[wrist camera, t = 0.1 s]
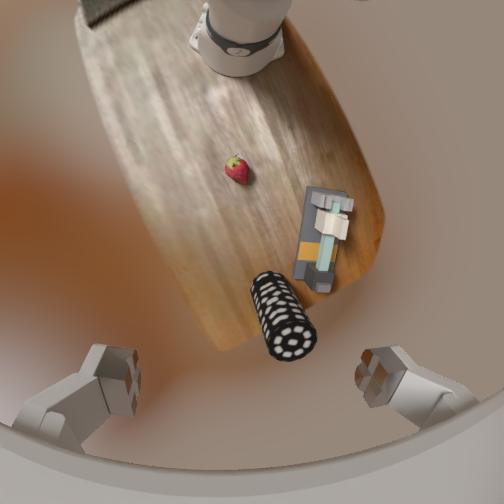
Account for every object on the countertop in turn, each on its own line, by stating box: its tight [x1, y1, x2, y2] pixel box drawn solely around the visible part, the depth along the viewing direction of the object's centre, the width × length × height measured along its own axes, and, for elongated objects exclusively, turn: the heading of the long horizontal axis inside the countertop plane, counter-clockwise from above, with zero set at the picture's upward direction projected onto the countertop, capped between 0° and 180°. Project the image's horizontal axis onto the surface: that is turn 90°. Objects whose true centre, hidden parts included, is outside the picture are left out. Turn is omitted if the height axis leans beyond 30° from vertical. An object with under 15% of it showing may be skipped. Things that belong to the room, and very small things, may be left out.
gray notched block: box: [311, 191, 354, 212], centre depth 54 cm, size 2×7×6 cm, turn 84°
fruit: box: [225, 153, 249, 184], centre depth 51 cm, size 4×6×5 cm
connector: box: [303, 263, 335, 293], centre depth 58 cm, size 4×4×7 cm
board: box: [292, 186, 348, 279], centre depth 59 cm, size 20×9×1 cm, turn 174°
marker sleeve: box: [315, 209, 349, 240], centre depth 52 cm, size 4×5×9 cm
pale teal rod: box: [316, 201, 341, 271], centre depth 55 cm, size 16×2×2 cm, turn 173°
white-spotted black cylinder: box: [251, 271, 317, 362], centre depth 53 cm, size 8×8×20 cm
